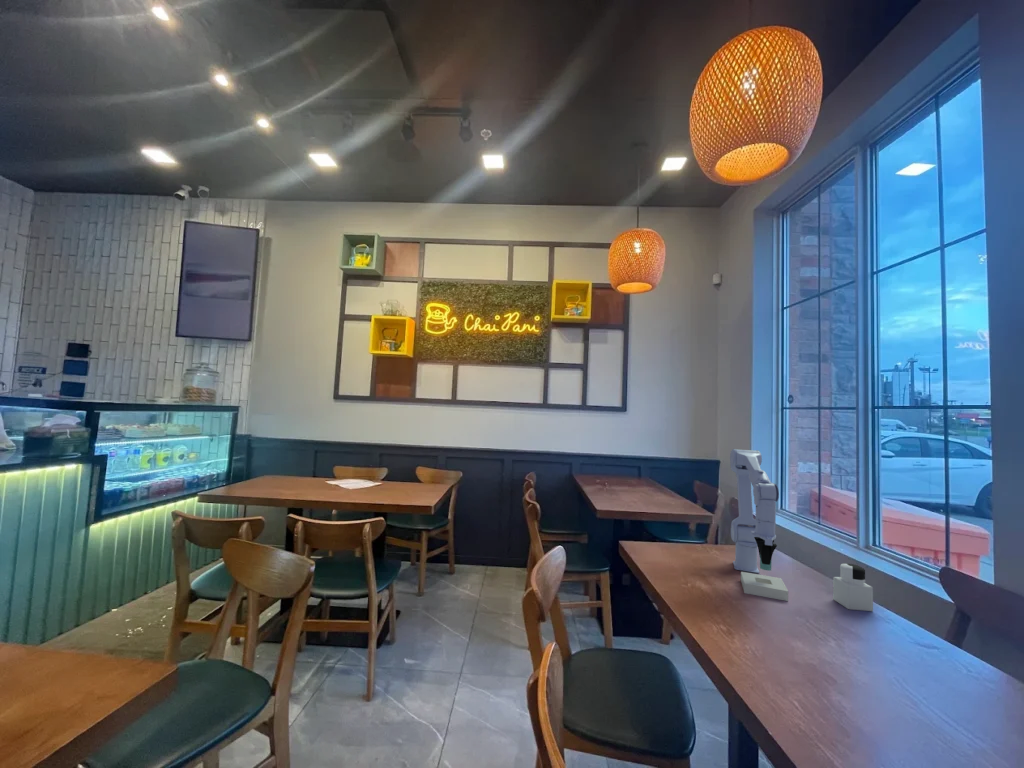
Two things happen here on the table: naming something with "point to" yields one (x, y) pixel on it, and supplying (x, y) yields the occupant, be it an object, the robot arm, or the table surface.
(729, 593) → the table surface
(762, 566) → the peg
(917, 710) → the table surface
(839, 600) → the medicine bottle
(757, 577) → the socket slab
